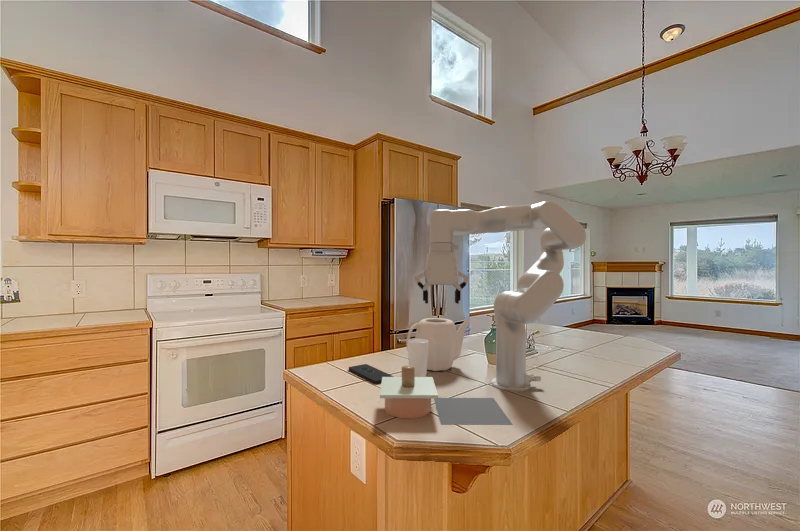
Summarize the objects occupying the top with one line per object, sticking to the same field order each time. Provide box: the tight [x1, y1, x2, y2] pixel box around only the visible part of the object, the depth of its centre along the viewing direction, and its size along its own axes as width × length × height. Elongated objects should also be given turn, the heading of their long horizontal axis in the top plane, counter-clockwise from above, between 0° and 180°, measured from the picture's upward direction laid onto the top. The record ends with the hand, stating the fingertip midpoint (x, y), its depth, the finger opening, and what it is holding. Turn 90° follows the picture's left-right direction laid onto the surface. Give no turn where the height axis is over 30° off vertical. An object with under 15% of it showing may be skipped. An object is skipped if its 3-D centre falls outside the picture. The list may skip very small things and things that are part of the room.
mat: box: [433, 397, 513, 426], centre depth 99 cm, size 18×18×1 cm
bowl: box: [384, 398, 432, 419], centre depth 100 cm, size 13×13×6 cm
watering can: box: [405, 317, 471, 372], centre depth 141 cm, size 16×27×19 cm, turn 105°
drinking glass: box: [407, 338, 428, 377], centre depth 120 cm, size 7×7×15 cm
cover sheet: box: [379, 365, 439, 399], centre depth 99 cm, size 15×15×6 cm
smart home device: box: [348, 363, 395, 385], centre depth 131 cm, size 8×2×20 cm
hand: (441, 303), depth 113 cm, fingers open, 9 cm apart
